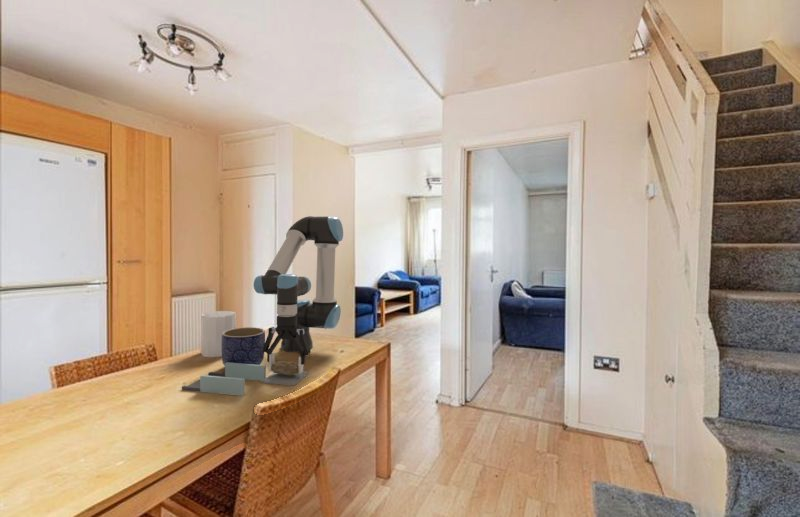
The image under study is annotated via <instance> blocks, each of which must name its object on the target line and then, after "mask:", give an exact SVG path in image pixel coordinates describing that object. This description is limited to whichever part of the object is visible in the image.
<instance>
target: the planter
mask: <svg viewBox="0 0 800 517" xmlns="http://www.w3.org/2000/svg"><path fill="white" fill-rule="evenodd" d="M265 342H266V331H265V329H263V328H260V327H250V326H249V327H244V326H243V327H236V328H235V329H230V330H226V331H224V332H223V333H222V336H221V354H222V357H221V362H222V364H223V366H224V367H225V363H226V362H230V363H242V364H254V365H262V363H263V360H264V358H265V352H263V351H262V350H263V347H264V344H265Z"/></svg>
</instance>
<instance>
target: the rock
mask: <svg viewBox="0 0 800 517" xmlns="http://www.w3.org/2000/svg"><path fill="white" fill-rule="evenodd" d="M298 371H299V363H296V362H288V361H285V360H283V361H280V360H279V361H274V365H273V366H272V371H271V372H273V373H277V374H285V375H294V374H297V373H298Z"/></svg>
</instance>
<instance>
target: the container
mask: <svg viewBox="0 0 800 517" xmlns="http://www.w3.org/2000/svg"><path fill="white" fill-rule="evenodd" d="M200 315H201V319H200V321H201V322H200V323H201V329H200V330H201V331H200V334H201V336H200V338H201V339H200V345H201V346H200V348H201V349H200V354H201V356H202V357H205V358H220V357H221V358H222V354H221V336H222V333H223V332H224V331H226V330H230V329H235V328H237V312H236V311H230V310H217V311H215V310H214V311H208V312H204V313H202V314H200Z"/></svg>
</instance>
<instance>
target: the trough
mask: <svg viewBox="0 0 800 517" xmlns="http://www.w3.org/2000/svg"><path fill="white" fill-rule="evenodd" d="M266 373H267V365H264V364H260V365H254V364H242V363H230V362H226V363H225V366H224V372H218V371H209V372H208V374H207V375H206V374H201V375H200V376H199V379H198V380H196V381H194V382H192V383H190V384H188V385H182V386H181V391H187V392H189V391H190V392H197V393H198V392H200V393H209V394H220V395H232V396H240V397H241V396H242V397H244V396H245V395H246V393H245V392H246V380H252V381H261V382H262V380H264V379H265V378H267V377H266V375H267V374H266Z"/></svg>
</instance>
